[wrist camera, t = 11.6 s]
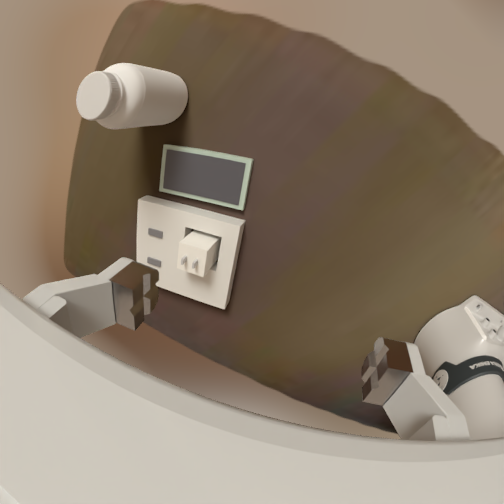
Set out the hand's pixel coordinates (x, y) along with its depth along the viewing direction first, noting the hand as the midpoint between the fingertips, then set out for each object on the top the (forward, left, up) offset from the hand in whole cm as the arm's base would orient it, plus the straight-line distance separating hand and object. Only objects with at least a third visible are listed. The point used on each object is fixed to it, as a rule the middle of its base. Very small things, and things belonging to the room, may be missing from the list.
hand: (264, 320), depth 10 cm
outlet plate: (+15, +15, -29) cm, 36 cm away
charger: (+12, +13, -29) cm, 34 cm away
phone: (+14, +3, -30) cm, 33 cm away
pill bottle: (+22, -7, -29) cm, 37 cm away
